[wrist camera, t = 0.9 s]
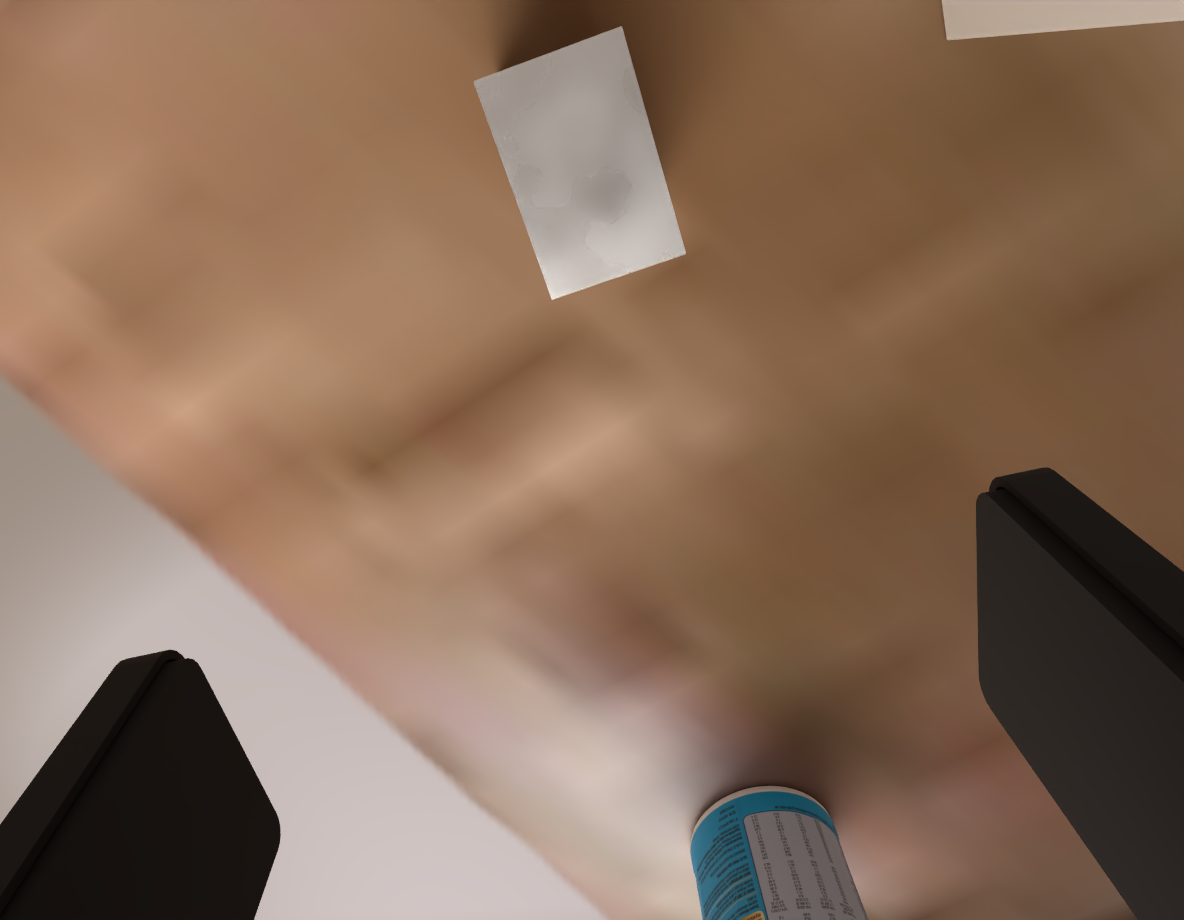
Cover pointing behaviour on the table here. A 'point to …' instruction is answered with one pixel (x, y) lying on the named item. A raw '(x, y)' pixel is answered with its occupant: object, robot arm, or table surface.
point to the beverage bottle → (771, 859)
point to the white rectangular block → (582, 163)
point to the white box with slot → (1050, 15)
